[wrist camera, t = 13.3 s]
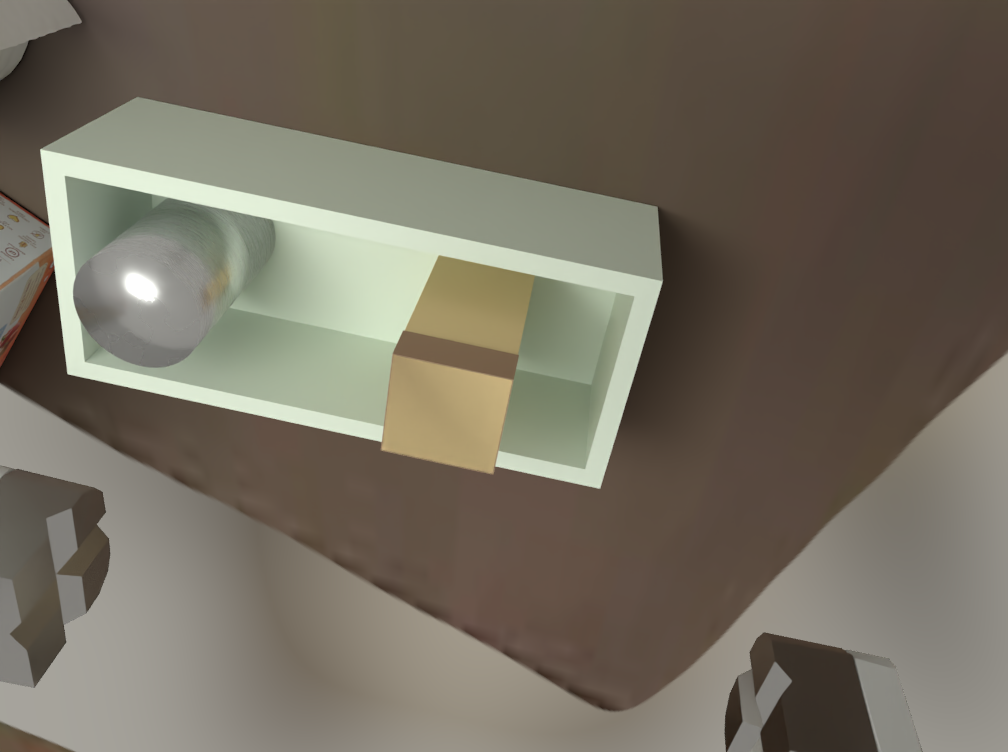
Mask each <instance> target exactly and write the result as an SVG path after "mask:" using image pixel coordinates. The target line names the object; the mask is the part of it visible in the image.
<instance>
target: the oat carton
mask: <svg viewBox="0 0 1008 752" xmlns="http://www.w3.org/2000/svg"><path fill="white" fill-rule="evenodd" d="M534 278H535V275H531V274H526V273H521V272H517V271H512V270H507V269H503V268H498V267H493V266H488V265H484V264H479V263H474V262H470V261H465V260H460V259H455V258H451V257H446V256H441V255H439V256H438V258H437V260H436V262H435V265H434V267H433V269H432V271H431V273H430V276H429V278H428V280H427V282H426V285H425V287H424V289H423V291H422V293H421V296H420V298H419V300H418V302H417V304H416V307H415V309H414V311H413V313H412V315H411V318H410V320H409V322H408V324H407V326H406V329H405V331H404V330H403V332H402V334H401V336H400V338H399V341H398V343H397V345H396V347H395V349H394V351H393V354H392V362H391V370H390V378H389V386H388V395H387V403H386V411H385V419H384V428H383V436H382V444H381V450H382V451H386V452H391V453H396V454H400V455H405V456H410V457H414V458H419V459H423V460H428V461H433V462H437V463H442V464H447V465H451V466H456V467H460V468H465V469H470V470H474V471H479V472H484V473H488V474H494V469H495V465H496V460H497V455H498V451H499V446H500V441H501V437H502V432H503V427H504V423H505V418H506V414H507V409H508V404H509V400H510V395H511V390H512V386H513V381H514V376H515V372H516V367H517V362H518V358H519V355H518V353H519V348H520V344H521V339H522V334H523V330H524V325H525V320H526V316H527V311H528V306H529V302H530V297H531V292H532V288H533V283H534Z"/></svg>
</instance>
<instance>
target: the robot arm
mask: <svg viewBox="0 0 1008 752" xmlns="http://www.w3.org/2000/svg"><path fill="white" fill-rule="evenodd" d="M105 513H106V510H105V504H104V498H103V492H101V491H100V490H98V489H96V488H93V487H89V486H85V485H81V484H77V483H73V482H68V481H65V480H61V479H57V478H53V477H48V476H44V475H40V474H36V473H31V472H28V471H24V470H19V469H12V468H9V467H4V466H0V681H2V682H7V683H12V684H17V685H22V686H28V687H33V688H34V687H35V686H36V685H37V683H38V682H39V680H40V679H41V678H42V676H43V675H44V673H45V672H46V670H47V669H48V668H49V666H50V665H51V663H52V662H53V661H54V659H55V658H56V656H57V655H58V653H59V652H60V651H61V649H62V648H63V646H64V645H65V643H66V638H65V630H64V624H66V623H68V622H70V621H72V620H74V619H76V618H78V617H80V616H82V615H84V614H86V613H87V611H88V610H89V608H90V607H91V605H92V604H93V602H94V601H95V599H96V598H97V596H98V595H99V593H100V590H101V587H102V585H103V583H104V580H105V577H106V575H107V572H108V567H109V559H110V545H109V538H108V537H107V536H106V535H105V534H104V532H103V531H102V530H101V529H100V528H99V527H98V525H97V523H98V522H99V520H100V519H101V518H102V516H103V515H104V514H105ZM750 659H751V667H752V669H751V670H749V671H747V672H745V673H743V674H741V675H739V676H738V677H737V679H736V681H735V684H734V686H733V688H732V690H731V692H730V695H729V700H728V705H727V710H726V715H725V745H726V752H922V748H921V745H920V742H919V739H918V736H917V733H916V729H915V726H914V723H913V720H912V717H911V714H910V710H909V707H908V704H907V701H906V698H905V694H904V691H903V688H902V685H901V682H900V679H899V676H898V672H897V669H896V666H895V665H894V664H893V663H892V662H891V660H890V659H889V658H883V657H879V656H875V655H870V654H865V653H860V652H855V651H851V650H843V649H842V648H837V647H832V646H827V645H822V644H818V643H813V642H808V641H803V640H798V639H793V638H788V637H784V636H779V635H774V634H769V633H763V634H762V635H760V636H759V637H758V638H757V639H756V641H755V643H754V645H753V647H752V649H751V651H750Z"/></svg>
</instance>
